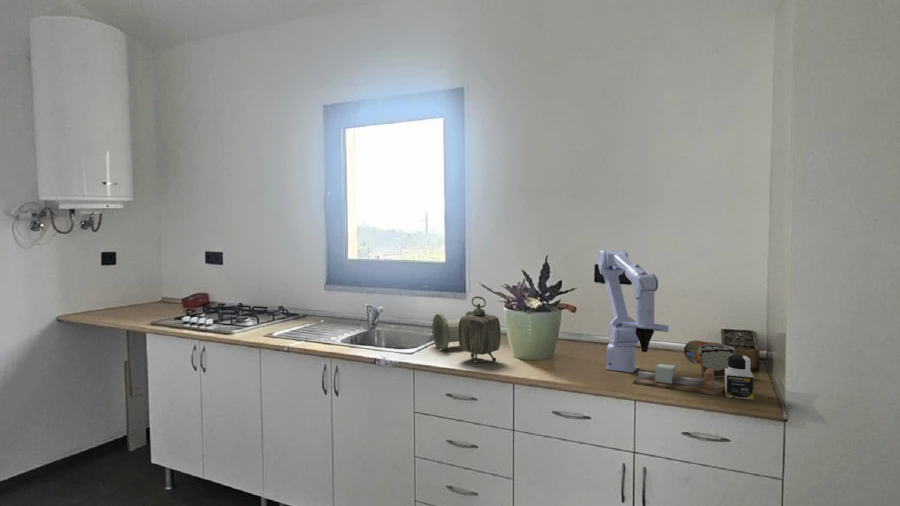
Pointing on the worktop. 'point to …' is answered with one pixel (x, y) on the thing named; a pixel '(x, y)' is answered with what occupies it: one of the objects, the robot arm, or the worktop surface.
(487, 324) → the tabletop clock
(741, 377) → the medicine bottle
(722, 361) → the food container
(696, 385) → the rail board
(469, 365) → the worktop surface
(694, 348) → the tin
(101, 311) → the worktop surface
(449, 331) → the spool
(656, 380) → the pale green block
